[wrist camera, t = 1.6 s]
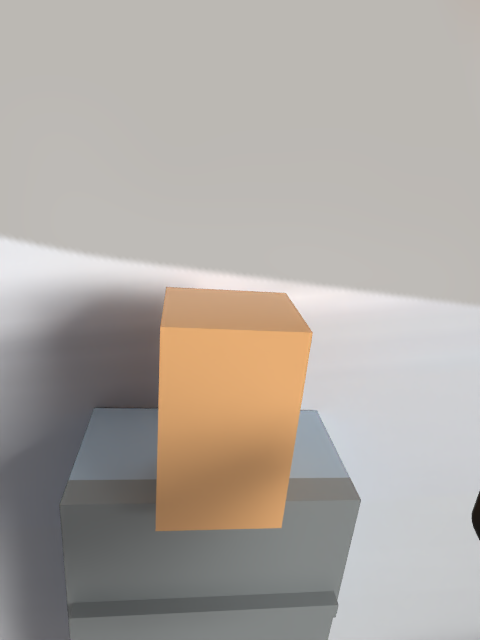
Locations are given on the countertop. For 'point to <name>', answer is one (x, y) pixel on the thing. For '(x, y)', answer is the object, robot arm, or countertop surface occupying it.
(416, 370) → the countertop surface
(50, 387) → the countertop surface
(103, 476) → the tub
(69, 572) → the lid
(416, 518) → the countertop surface
